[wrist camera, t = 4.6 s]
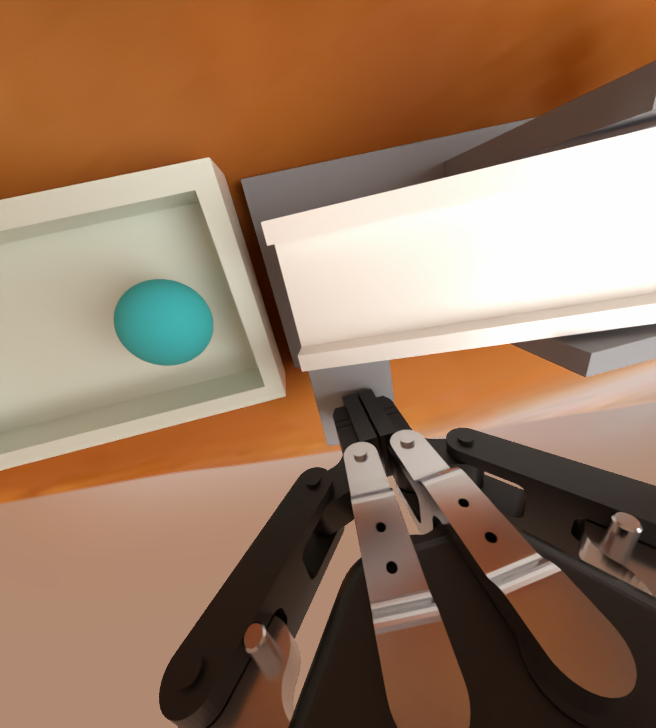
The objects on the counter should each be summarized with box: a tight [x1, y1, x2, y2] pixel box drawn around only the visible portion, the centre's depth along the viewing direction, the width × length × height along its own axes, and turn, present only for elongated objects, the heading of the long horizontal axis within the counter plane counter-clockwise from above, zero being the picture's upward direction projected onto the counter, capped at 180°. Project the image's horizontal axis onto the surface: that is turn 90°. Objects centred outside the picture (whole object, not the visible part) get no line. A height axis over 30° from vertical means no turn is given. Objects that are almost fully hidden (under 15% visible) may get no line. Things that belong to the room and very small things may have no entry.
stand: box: [240, 60, 656, 377], centre depth 13 cm, size 11×27×10 cm, turn 101°
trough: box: [261, 127, 656, 446], centre depth 11 cm, size 12×26×6 cm, turn 101°
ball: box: [114, 279, 213, 366], centre depth 13 cm, size 4×4×4 cm
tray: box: [0, 157, 286, 471], centre depth 15 cm, size 12×20×4 cm, turn 101°
